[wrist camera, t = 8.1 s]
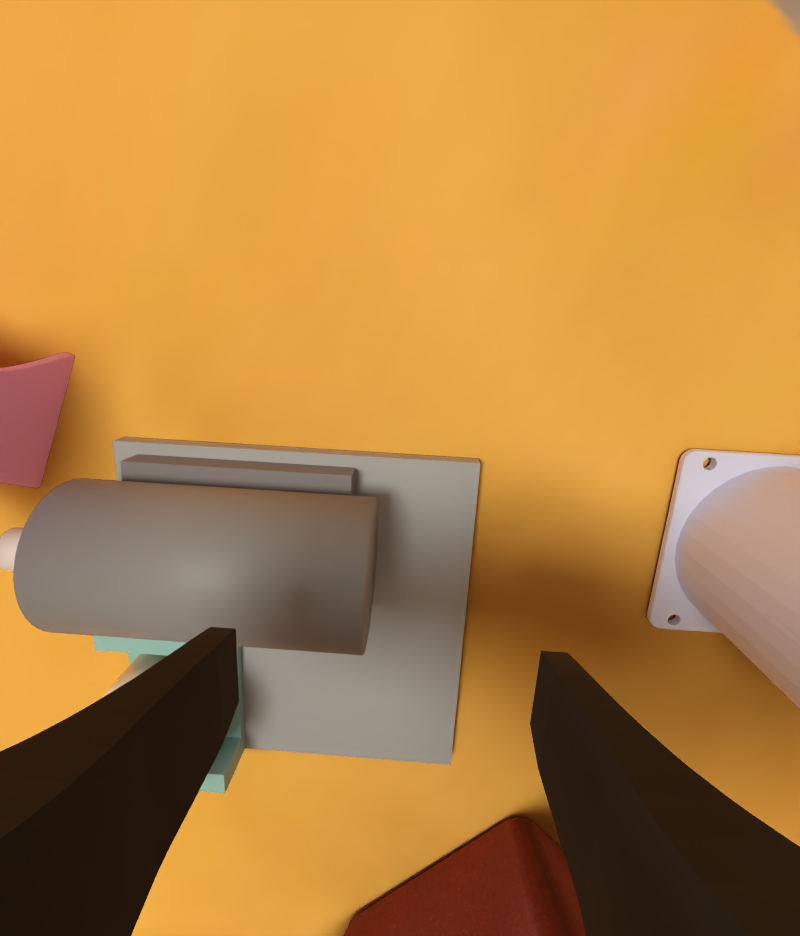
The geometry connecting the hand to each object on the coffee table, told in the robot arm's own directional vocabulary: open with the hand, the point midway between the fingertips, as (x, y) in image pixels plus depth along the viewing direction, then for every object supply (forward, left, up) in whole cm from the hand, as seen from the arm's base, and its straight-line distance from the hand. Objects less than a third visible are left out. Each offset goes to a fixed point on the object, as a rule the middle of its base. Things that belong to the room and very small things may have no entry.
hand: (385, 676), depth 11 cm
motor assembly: (+6, +4, -10) cm, 12 cm away
